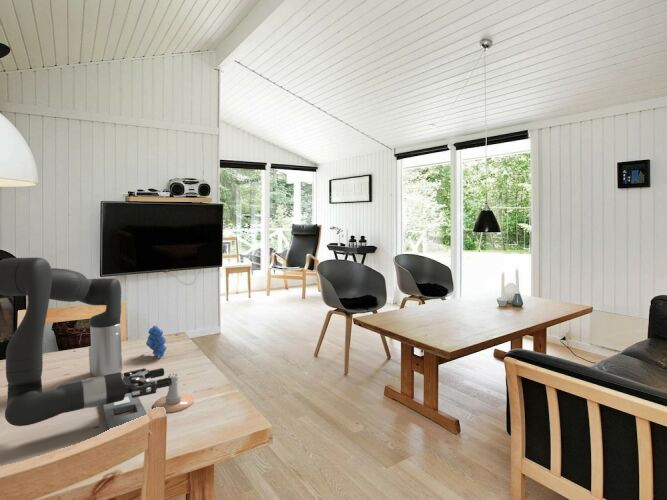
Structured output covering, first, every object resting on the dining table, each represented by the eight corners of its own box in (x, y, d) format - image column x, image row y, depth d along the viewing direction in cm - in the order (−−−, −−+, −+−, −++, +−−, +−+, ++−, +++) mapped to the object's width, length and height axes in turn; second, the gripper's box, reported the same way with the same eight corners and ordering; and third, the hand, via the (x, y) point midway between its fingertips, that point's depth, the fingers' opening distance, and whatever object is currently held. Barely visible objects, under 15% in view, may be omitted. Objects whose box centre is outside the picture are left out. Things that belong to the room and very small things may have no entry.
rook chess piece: (168, 398, 118) (168, 372, 118) (183, 398, 118) (183, 371, 118) (162, 405, 114) (162, 378, 113) (178, 404, 114) (178, 377, 113)
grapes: (139, 355, 157) (138, 325, 156) (156, 351, 162) (155, 322, 161) (153, 362, 149) (152, 331, 149) (170, 357, 155) (169, 327, 154)
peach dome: (144, 409, 112) (144, 407, 112) (170, 393, 123) (170, 391, 123) (178, 414, 110) (178, 412, 110) (201, 397, 120) (201, 395, 120)
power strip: (98, 392, 123) (98, 386, 123) (130, 385, 128) (130, 379, 128) (111, 435, 99) (110, 427, 99) (150, 424, 104) (149, 417, 104)
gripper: (105, 385, 99) (173, 371, 109) (99, 368, 111) (161, 356, 120) (107, 414, 100) (174, 397, 109) (100, 394, 111) (161, 380, 121)
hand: (167, 376), depth 115 cm, fingers open, 8 cm apart
